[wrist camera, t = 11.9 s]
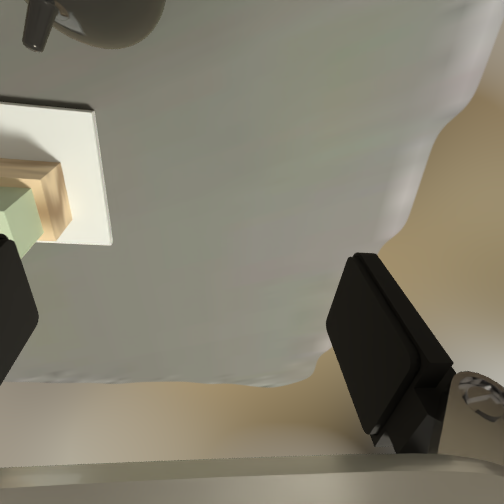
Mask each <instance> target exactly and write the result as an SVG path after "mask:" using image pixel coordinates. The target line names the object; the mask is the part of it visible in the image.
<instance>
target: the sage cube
mask: <svg viewBox="0 0 504 504" xmlns="http://www.w3.org/2000/svg"><path fill="white" fill-rule="evenodd" d="M43 233H44V231H43V228H42V224H41V221H40V217H39V214H38V210H37V207H36V203H35V200H34V196H33V193H32V189H31V188H17V187H0V234H4V235H6V236H7V237H8V239H9V240H13V241H14V242H15V244H16V247H17V250H18V253H19V256H20V259H22V258H23V256H24V255H25V254H26V253H27V252H28V251H29V249H30V248H31V247H32V246H33V245H34V244H35V242H36V241H37V240H38V239H39V238H40V237H41V235H42V234H43Z"/></svg>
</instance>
